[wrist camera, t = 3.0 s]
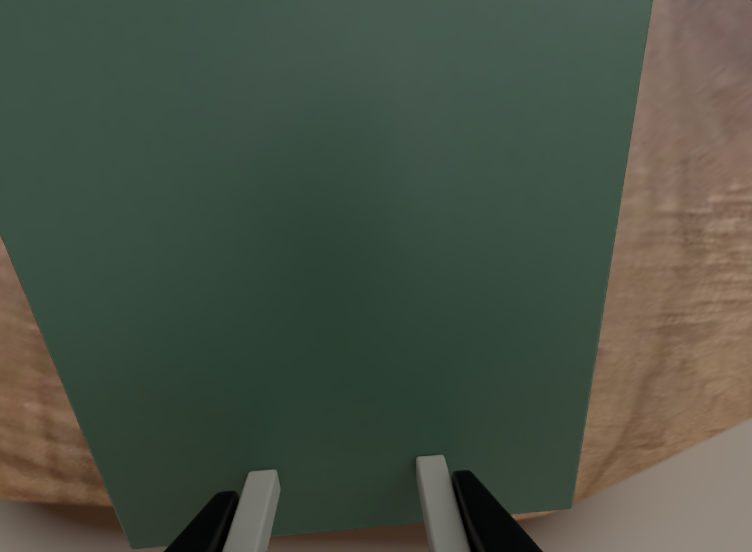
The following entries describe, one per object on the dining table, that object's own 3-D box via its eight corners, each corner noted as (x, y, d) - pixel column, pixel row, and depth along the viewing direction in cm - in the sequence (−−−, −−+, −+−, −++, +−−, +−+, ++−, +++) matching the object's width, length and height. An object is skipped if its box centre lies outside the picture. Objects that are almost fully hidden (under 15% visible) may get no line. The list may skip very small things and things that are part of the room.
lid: (559, 487, 10) (722, 760, 6) (144, 524, 10) (-37, 844, 5) (634, -45, 6) (1402, -579, 2) (-60, -6, 6) (-1453, -520, 1)
